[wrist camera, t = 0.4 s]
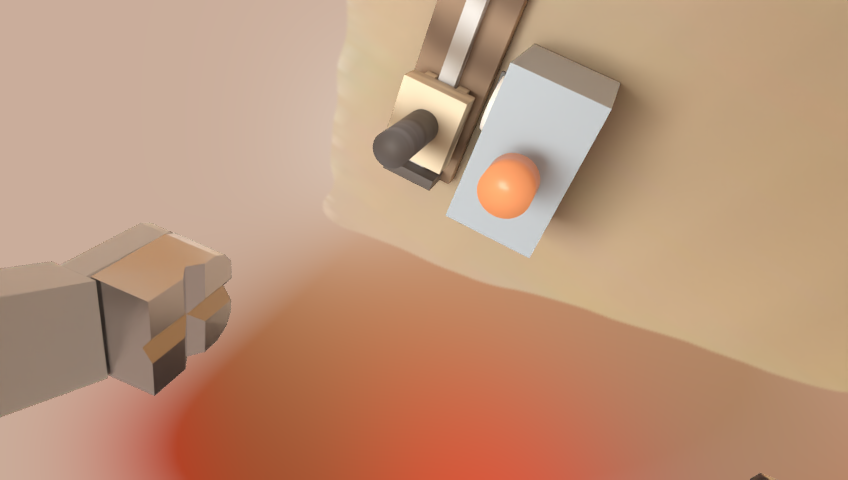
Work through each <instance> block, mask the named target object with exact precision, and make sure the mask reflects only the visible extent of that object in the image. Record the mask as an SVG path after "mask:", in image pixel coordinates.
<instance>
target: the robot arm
mask: <svg viewBox="0 0 848 480" xmlns="http://www.w3.org/2000/svg"><path fill="white" fill-rule="evenodd" d="M231 277H232V275H231V260H230V259H229V258H228V257H227V256H226V255H224V254H222V253H220V252H218V251H215V250H213V249H211V248H209V247H206V246H204V245H202V244H199V243H197V242H195V241H193V240H190V239H188V238H185V237H183V236H181V235H179V234H176V233H172V232H171V231H168V230H166V229H164V228H161V227H159V226H157V225H154V224H152V223H140V224H138V225H136V226H134V227H132V228H130V229H128V230H126V231H124V232H122V233H120V234H118V235H116V236H115V237H113V238H111V239H109V240H107V241H105V242H103V243H101V244H99V245H97V246H95V247H93V248H91V249H89V250H88V251H86V252H84V253H82V254H80V255H78V256H76V257H74V258H72V259H70V260H68V261H67V262H64V263H63V264H61V265H59V264H57V263H55V262H52V261H51V262H44V263H37V264H29V265H22V266H15V267H8V268H0V417H2V416H5V415H8V414H11V413H13V412H16V411H19V410H22V409H24V408H27V407H30V406H33V405H36V404H38V403H41V402H44V401H47V400H49V399H52V398H54V397H57V396H60V395H63V394H66V393H69V392H71V391H74V390H76V389H79V388H82V387H85V386H88V385H91V384H93V383H96V382H99V381H102V380H104V379H107V378H108V375H109V376H111V377H113V378H116V379H118V380H120V381H123V382H125V383H127V384H129V385H131V386H134V387H136V388H138V389H141V390H142V391H145V392H147V393H149V394H151V395H154V396H155V395H156V394H157V393H158V392H160V391H161V390H162V389H163V388H164V387H165V386H166V385H168V384H169V383H170V382H171V381H172V380H173V379H174V378H176V377H177V376H178V375H179V374H180V373H181V372H182V371H184V370H185V368H186V361H187V356H191V355H195V354H198V353H202V352H205V351H206V350H207V349H208V348H209V347H210V346H212V345H213V344H214V343H215V342H216V341H217V340H218V338H219V337H220V335H221V333H222V332H223V330H224V328H225V327H226V325H227V322H228V319H229V315H230V310H231V299H230V297H229V295H228V293H227V291H226V290H225V288H224V286H223V285H224V284H225V283H226V282H227V281H229V280H230V279H231ZM750 480H776V479H774V478H772V477H769V476H767V475H764V474H762V473H760V474H758V475H756V476H754V477H752V478H751V479H750Z"/></svg>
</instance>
